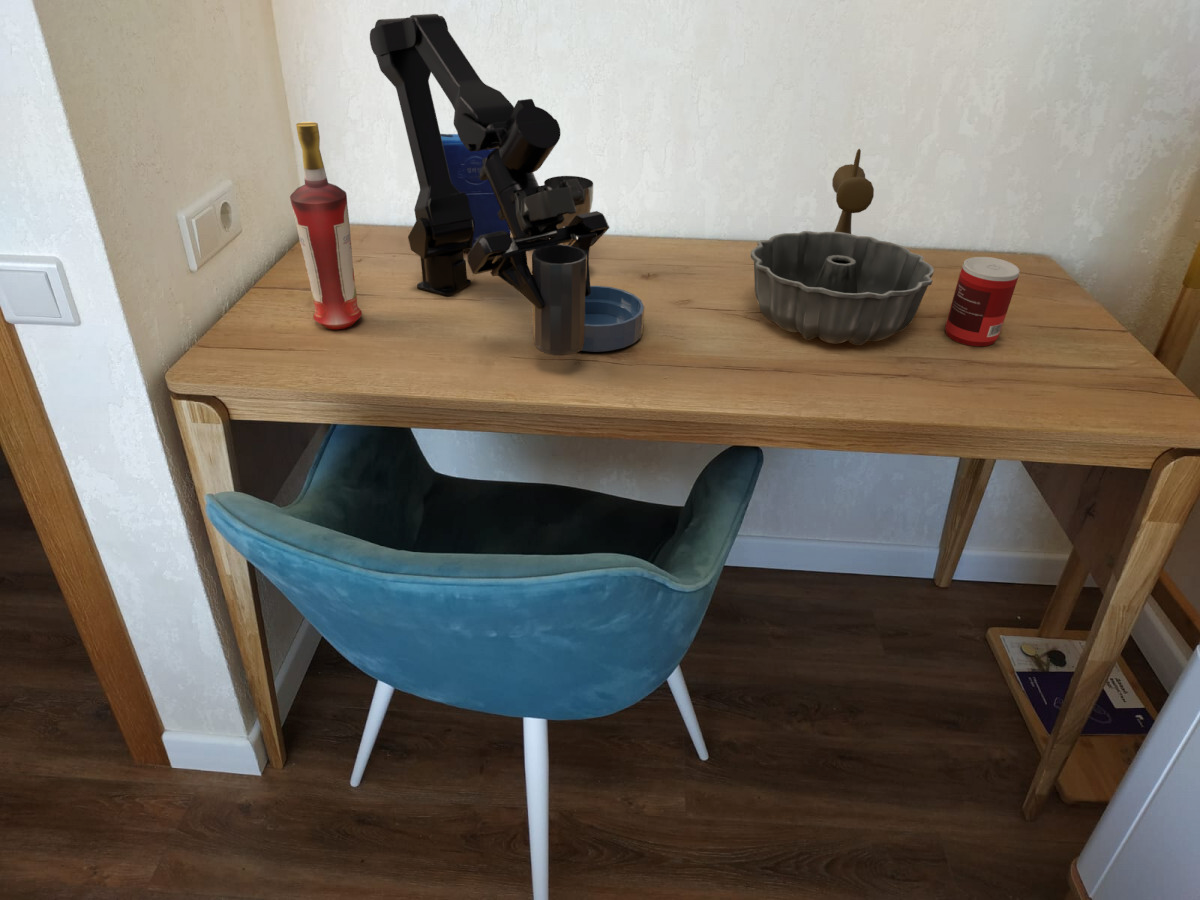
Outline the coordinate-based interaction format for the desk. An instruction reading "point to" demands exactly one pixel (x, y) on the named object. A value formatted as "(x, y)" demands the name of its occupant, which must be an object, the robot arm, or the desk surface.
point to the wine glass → (580, 209)
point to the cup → (560, 299)
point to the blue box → (473, 185)
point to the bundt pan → (838, 285)
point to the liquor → (325, 237)
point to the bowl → (612, 319)
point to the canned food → (981, 300)
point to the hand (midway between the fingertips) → (565, 301)
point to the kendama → (851, 192)
